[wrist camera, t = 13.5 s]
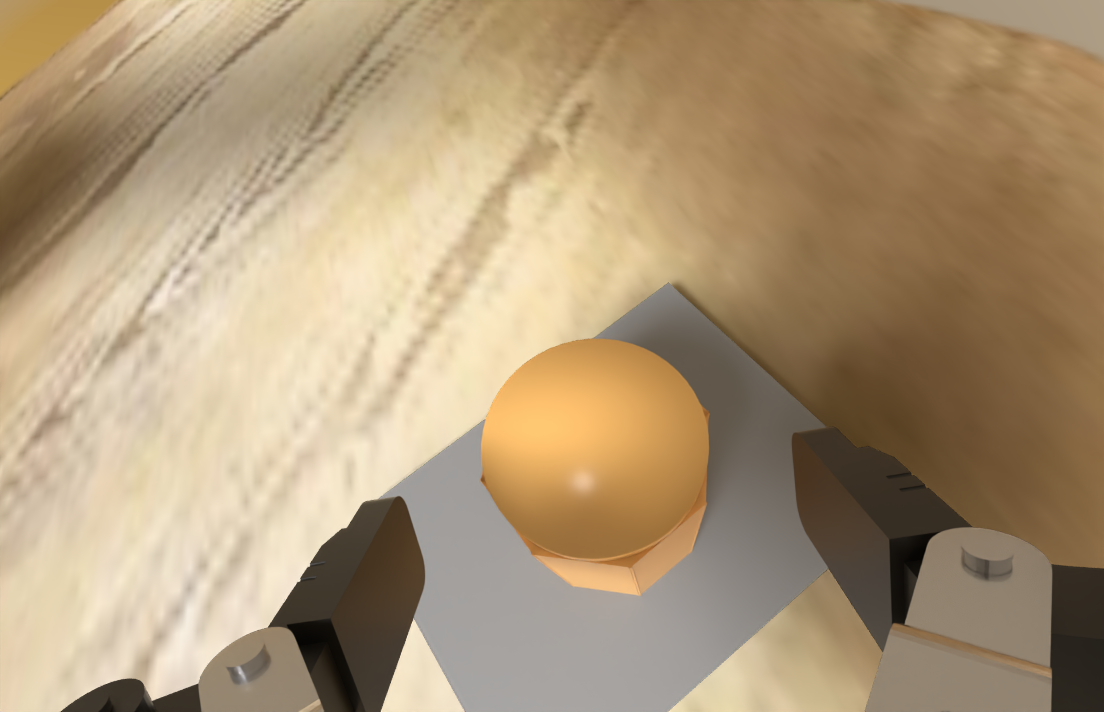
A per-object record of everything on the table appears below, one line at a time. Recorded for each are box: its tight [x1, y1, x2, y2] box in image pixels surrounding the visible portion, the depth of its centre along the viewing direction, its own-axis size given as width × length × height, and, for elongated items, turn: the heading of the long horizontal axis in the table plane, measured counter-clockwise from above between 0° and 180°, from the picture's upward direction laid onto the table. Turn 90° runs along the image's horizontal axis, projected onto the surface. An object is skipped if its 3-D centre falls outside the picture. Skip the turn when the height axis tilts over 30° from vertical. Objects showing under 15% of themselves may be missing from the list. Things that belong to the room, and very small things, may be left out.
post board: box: [379, 282, 828, 712], centre depth 19 cm, size 16×12×8 cm
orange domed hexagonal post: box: [480, 339, 710, 596], centre depth 18 cm, size 6×6×8 cm
